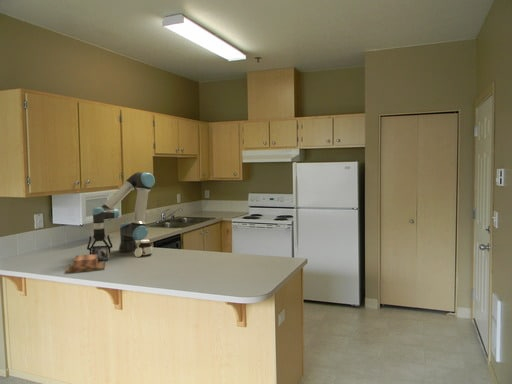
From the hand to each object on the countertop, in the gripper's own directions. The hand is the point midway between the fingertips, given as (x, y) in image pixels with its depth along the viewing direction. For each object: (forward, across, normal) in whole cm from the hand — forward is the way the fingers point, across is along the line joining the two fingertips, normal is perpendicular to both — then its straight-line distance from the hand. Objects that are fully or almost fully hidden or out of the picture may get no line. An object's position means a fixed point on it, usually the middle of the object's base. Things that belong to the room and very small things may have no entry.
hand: (100, 257), depth 310 cm
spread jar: (+2, +31, +4) cm, 31 cm away
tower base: (+2, -8, -20) cm, 22 cm away
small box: (+2, 0, 0) cm, 2 cm away
